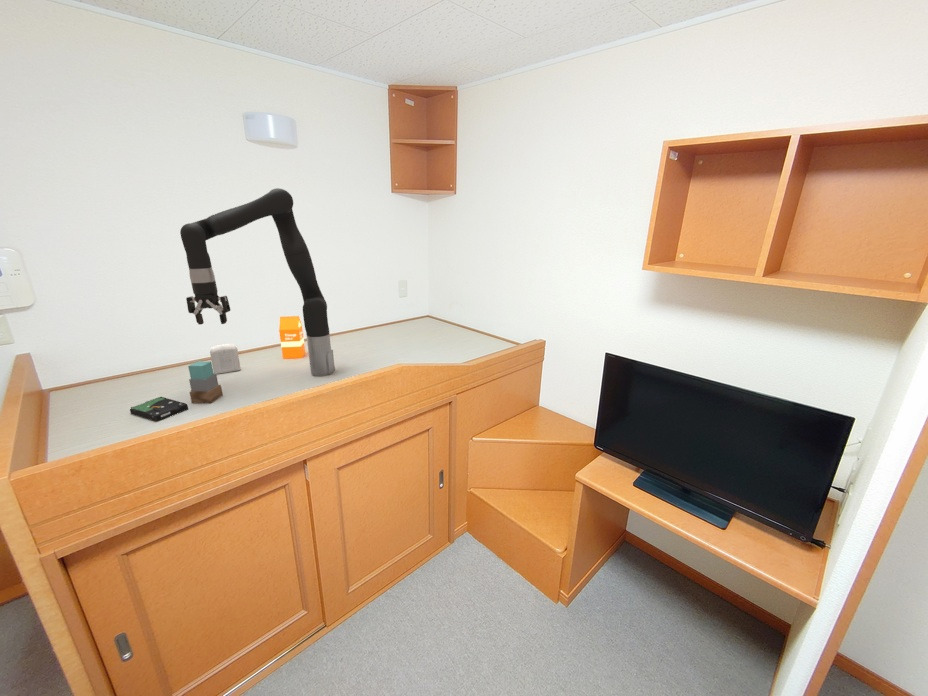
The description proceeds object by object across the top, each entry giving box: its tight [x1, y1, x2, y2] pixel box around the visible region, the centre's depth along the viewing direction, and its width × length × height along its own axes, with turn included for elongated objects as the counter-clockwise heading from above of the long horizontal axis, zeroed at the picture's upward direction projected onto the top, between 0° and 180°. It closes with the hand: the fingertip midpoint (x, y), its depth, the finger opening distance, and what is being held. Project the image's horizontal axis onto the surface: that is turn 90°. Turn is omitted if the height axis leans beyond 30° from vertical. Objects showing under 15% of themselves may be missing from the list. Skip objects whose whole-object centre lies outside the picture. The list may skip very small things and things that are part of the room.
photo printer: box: [209, 343, 241, 375], centre depth 171 cm, size 10×4×12 cm, turn 123°
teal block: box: [187, 360, 214, 379], centre depth 142 cm, size 5×5×5 cm
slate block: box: [188, 374, 219, 392], centre depth 143 cm, size 6×6×4 cm
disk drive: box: [129, 396, 189, 423], centre depth 135 cm, size 10×3×15 cm
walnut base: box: [189, 384, 224, 404], centre depth 144 cm, size 7×7×4 cm
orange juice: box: [278, 315, 306, 360], centre depth 190 cm, size 8×9×20 cm
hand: (212, 323), depth 148 cm, fingers open, 8 cm apart
